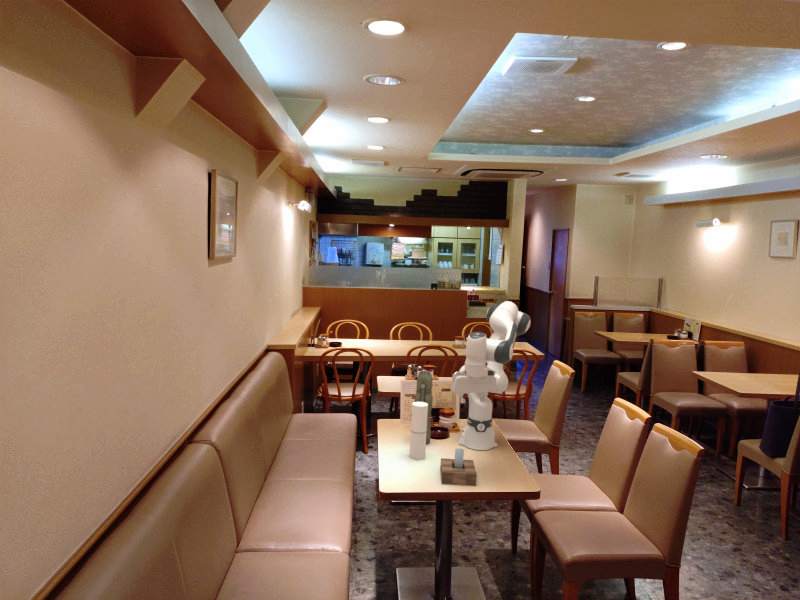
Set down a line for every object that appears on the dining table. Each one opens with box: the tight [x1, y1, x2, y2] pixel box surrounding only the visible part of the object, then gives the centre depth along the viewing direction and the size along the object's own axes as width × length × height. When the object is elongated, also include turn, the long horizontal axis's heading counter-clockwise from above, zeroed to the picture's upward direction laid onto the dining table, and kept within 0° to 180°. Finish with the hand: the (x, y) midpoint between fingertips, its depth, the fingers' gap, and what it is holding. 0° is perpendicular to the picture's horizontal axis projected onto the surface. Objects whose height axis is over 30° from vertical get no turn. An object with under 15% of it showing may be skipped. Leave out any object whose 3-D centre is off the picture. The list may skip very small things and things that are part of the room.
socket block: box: [439, 458, 478, 487], centre depth 230 cm, size 14×14×5 cm
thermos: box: [414, 370, 434, 446], centre depth 266 cm, size 9×12×35 cm
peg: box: [454, 447, 465, 469], centre depth 229 cm, size 4×4×12 cm
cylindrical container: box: [409, 401, 428, 461], centre depth 248 cm, size 7×7×25 cm
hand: (472, 402), depth 232 cm, fingers open, 8 cm apart
